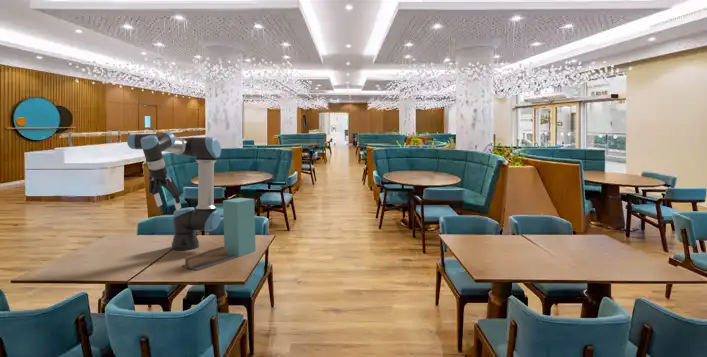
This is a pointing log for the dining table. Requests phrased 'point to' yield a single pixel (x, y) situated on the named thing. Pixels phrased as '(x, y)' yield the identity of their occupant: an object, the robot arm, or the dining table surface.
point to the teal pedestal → (239, 226)
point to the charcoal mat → (212, 263)
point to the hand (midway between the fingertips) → (169, 207)
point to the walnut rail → (205, 257)
